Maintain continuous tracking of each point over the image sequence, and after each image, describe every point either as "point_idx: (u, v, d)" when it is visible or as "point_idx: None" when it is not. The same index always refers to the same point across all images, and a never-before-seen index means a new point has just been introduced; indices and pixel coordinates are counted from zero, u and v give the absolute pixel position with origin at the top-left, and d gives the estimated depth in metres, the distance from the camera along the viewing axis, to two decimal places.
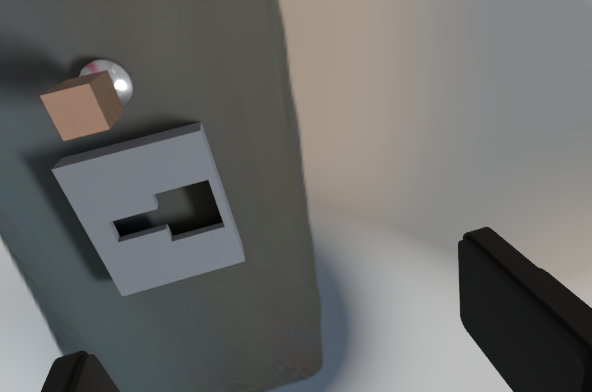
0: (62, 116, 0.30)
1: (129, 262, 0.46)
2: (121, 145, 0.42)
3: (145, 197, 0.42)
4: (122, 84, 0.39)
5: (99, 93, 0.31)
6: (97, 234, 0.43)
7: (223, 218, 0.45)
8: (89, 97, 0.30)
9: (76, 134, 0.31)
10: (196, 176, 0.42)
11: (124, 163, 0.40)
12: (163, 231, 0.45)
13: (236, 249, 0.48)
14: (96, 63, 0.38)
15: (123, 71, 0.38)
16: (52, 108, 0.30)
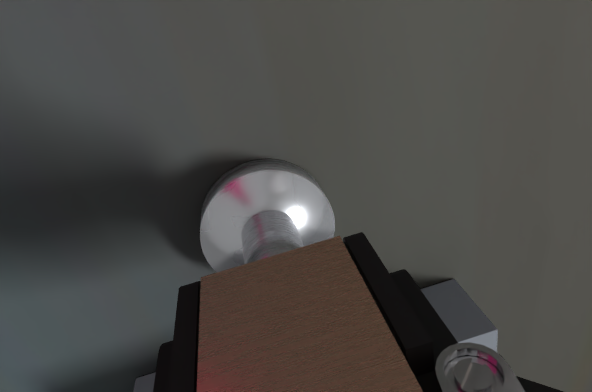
0: None
1: None
2: None
3: None
4: (314, 226, 0.14)
5: None
6: None
7: None
8: None
9: None
10: None
11: None
12: None
13: None
14: (255, 179, 0.13)
15: (321, 195, 0.14)
16: None
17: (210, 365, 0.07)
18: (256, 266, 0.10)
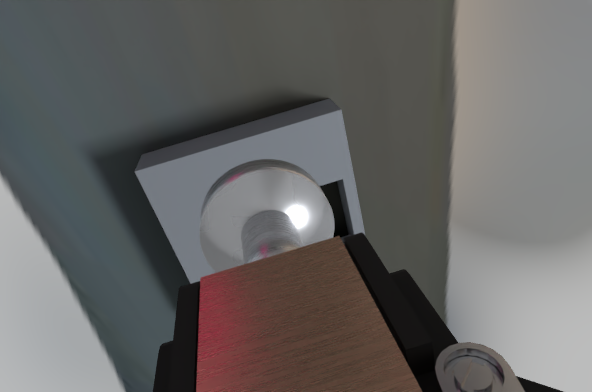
0: None
1: None
2: (225, 134, 0.30)
3: None
4: (313, 226, 0.14)
5: None
6: (191, 258, 0.32)
7: (355, 230, 0.33)
8: None
9: None
10: (327, 174, 0.30)
11: (233, 159, 0.28)
12: None
13: None
14: (255, 179, 0.13)
15: (321, 195, 0.14)
16: None
17: (210, 365, 0.07)
18: (256, 266, 0.10)
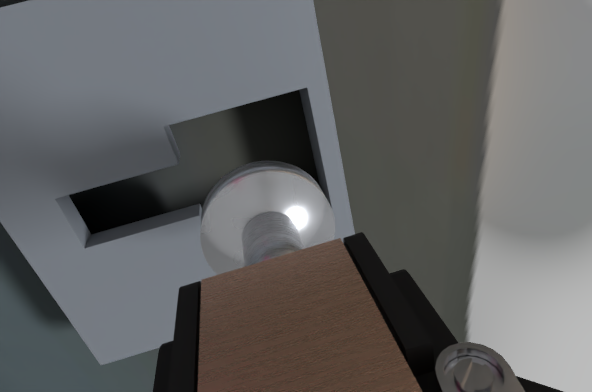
0: None
1: (113, 294, 0.20)
2: None
3: (148, 132, 0.17)
4: (314, 227, 0.14)
5: None
6: (31, 229, 0.17)
7: (331, 189, 0.19)
8: None
9: None
10: (279, 76, 0.16)
11: (88, 29, 0.14)
12: (192, 222, 0.19)
13: None
14: (255, 181, 0.13)
15: (321, 197, 0.14)
16: None
17: (211, 368, 0.07)
18: (257, 268, 0.10)
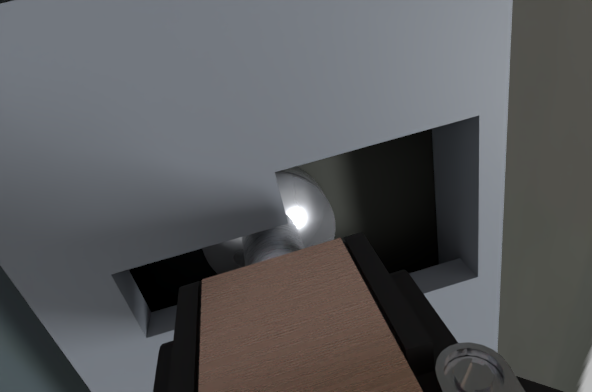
0: None
1: None
2: None
3: (253, 181, 0.11)
4: (314, 227, 0.14)
5: None
6: (74, 316, 0.12)
7: (482, 251, 0.14)
8: None
9: None
10: (445, 100, 0.11)
11: (182, 28, 0.09)
12: None
13: (486, 338, 0.16)
14: None
15: (322, 197, 0.14)
16: None
17: (212, 367, 0.07)
18: (257, 268, 0.10)
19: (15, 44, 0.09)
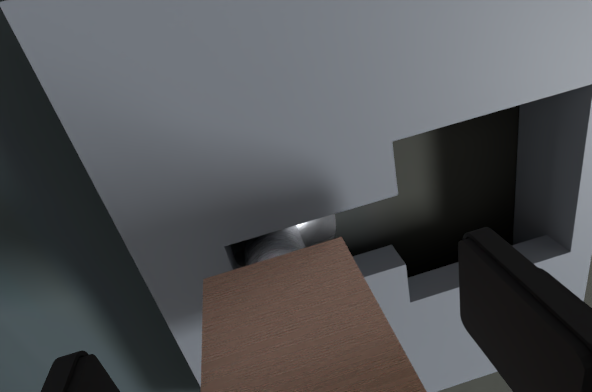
0: None
1: None
2: None
3: (370, 150, 0.11)
4: (315, 226, 0.14)
5: None
6: (184, 289, 0.12)
7: (578, 225, 0.14)
8: None
9: None
10: (562, 67, 0.11)
11: None
12: (395, 273, 0.13)
13: None
14: None
15: None
16: None
17: (214, 367, 0.07)
18: (258, 267, 0.10)
19: (164, 6, 0.09)
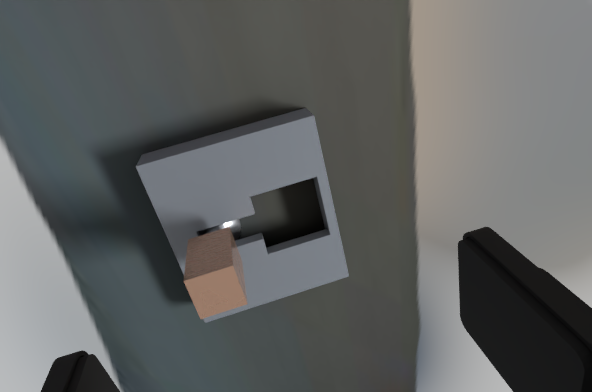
0: (202, 297, 0.29)
1: None
2: (214, 137, 0.34)
3: (242, 199, 0.35)
4: (232, 226, 0.38)
5: (236, 266, 0.30)
6: (183, 247, 0.36)
7: (329, 224, 0.38)
8: (231, 278, 0.29)
9: (214, 311, 0.30)
10: (303, 172, 0.35)
11: (221, 157, 0.33)
12: (259, 242, 0.37)
13: (340, 262, 0.40)
14: None
15: None
16: (194, 291, 0.29)
17: (189, 255, 0.31)
18: (204, 235, 0.33)
19: (177, 164, 0.33)
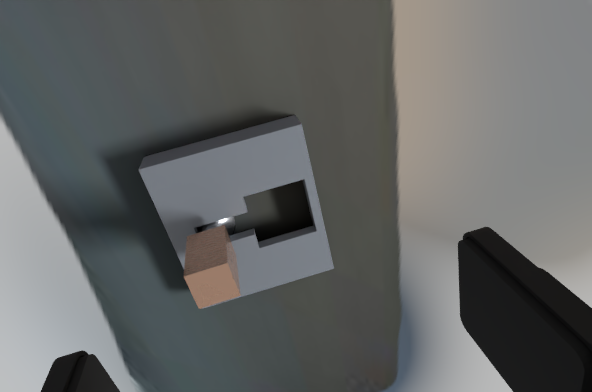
0: (200, 290, 0.33)
1: None
2: (210, 142, 0.37)
3: (236, 199, 0.38)
4: (227, 222, 0.41)
5: (230, 262, 0.34)
6: (181, 241, 0.39)
7: (316, 221, 0.41)
8: (226, 273, 0.32)
9: (211, 302, 0.33)
10: (292, 175, 0.38)
11: (216, 161, 0.36)
12: (251, 237, 0.40)
13: (326, 255, 0.43)
14: None
15: None
16: (193, 285, 0.32)
17: (188, 252, 0.34)
18: (201, 233, 0.37)
19: (176, 168, 0.36)
